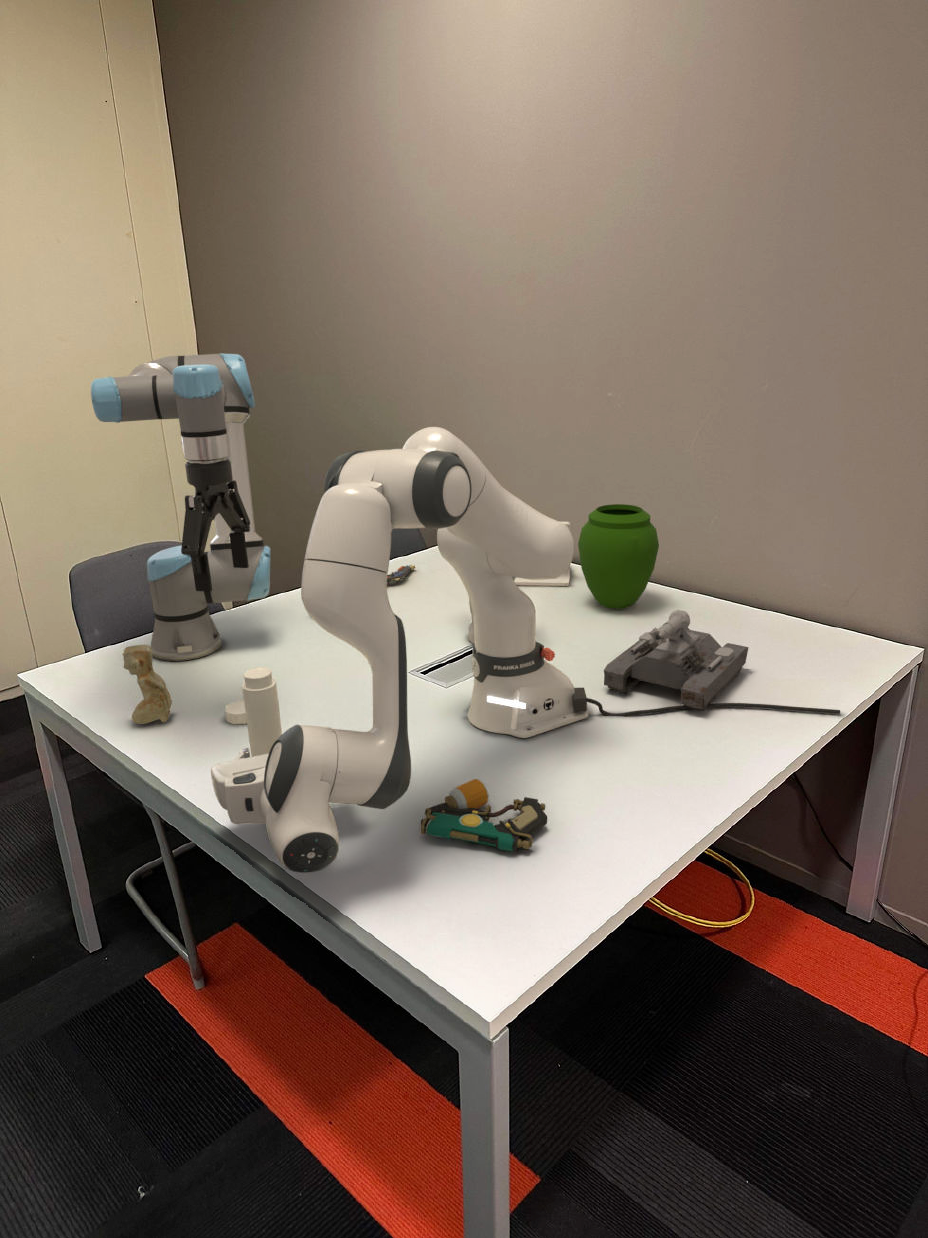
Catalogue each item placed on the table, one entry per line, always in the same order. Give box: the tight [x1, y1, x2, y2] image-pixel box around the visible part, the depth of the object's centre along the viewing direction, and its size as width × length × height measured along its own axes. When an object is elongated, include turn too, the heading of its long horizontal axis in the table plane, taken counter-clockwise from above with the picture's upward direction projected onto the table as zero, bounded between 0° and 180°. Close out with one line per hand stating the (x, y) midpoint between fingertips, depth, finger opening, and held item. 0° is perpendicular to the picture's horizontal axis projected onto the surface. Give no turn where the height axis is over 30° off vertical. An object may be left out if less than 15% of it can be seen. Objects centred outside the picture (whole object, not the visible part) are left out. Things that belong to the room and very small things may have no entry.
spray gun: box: [420, 778, 548, 852], centre depth 125 cm, size 4×17×15 cm
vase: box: [577, 503, 660, 610], centre depth 210 cm, size 20×20×24 cm
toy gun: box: [387, 564, 417, 584], centre depth 239 cm, size 3×19×10 cm
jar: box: [241, 667, 283, 757], centre depth 142 cm, size 6×6×17 cm
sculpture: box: [122, 644, 173, 725], centre depth 159 cm, size 6×7×15 cm
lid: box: [224, 699, 247, 725], centre depth 162 cm, size 6×6×2 cm
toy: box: [603, 609, 749, 711], centre depth 169 cm, size 25×20×15 cm
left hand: (223, 578), depth 153 cm, fingers open, 13 cm apart
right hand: (274, 746), depth 133 cm, fingers open, 8 cm apart
